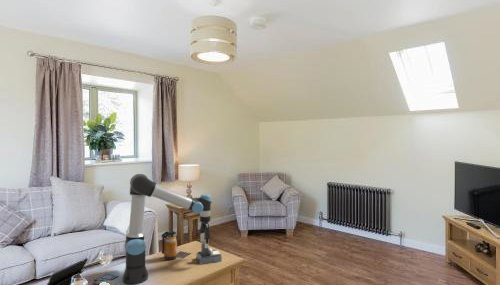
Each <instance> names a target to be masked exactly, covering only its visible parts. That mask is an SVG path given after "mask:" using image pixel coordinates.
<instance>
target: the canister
mask: <svg viewBox="0 0 500 285" xmlns="http://www.w3.org/2000/svg"><path fill="white" fill-rule="evenodd" d="M176 234H177V232H176V231H174V230H172V231H165V232H164V233H162V234H161V238H162V239H161V240H162V241H161V243H162V250H161V254H162V255H164V256H163V258H164V260H169V261H172V260H174V259H176V258H177V257H178V256H177V254H178V251H177V250H178V249H177V248H178V240H177V237H176Z"/></svg>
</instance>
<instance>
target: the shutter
mask: <svg viewBox="0 0 500 285" xmlns="http://www.w3.org/2000/svg"><path fill="white" fill-rule="evenodd" d="M213 250H214V249H212V248H211V247H209V254H210V255H211V256H212V255H219V254H221V252H219V250H218V249H216V250H217V251H213Z"/></svg>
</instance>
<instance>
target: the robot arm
mask: <svg viewBox="0 0 500 285" xmlns="http://www.w3.org/2000/svg"><path fill="white" fill-rule="evenodd" d="M129 184H130V186H129V195H130V196H131V203H130V214H129V215H130V216H129V226H128V232H127V233H126V235H125V243H124V248H125V269H124V271H123V272H124V273H123V275H122V282H123V283H124V284H125V285H138V284H141V283H144V282H146V281H147V280H148V278H149V273H148V270H147V266H146V249H147V246H146V241H145V233H144V232H143V230H144V229H143V228H144V220H145V219H144V217H145V206H146V204H145V203H146V197H148V198H151V197H153V198H156V199H159V200H161V201H164V202H167V203H169V204H172V205H175V206H178V207H180V208H183V209H186V210H188V211H191V212H192V213H195V214H199V221H200V229H199V232H200V243H204V240H205V248H210V247H209V245H210V244H209V243H210V242H209V241H210V239H211V237H210V236H211V235H210V225H209V222H210V221H211V213H212V210H211V205H212V197H211V194H207V193H204V194H201V195H200V197H188V196H185V195H183V194H182V193H181V194H180V193H177V192H175V191H173V190H170V189H168V188H165V187H163V186H160V185H158V184H157V182H154V181H152V180H151V179H149V178H148V176H147V175H145V174H143V173H138V174H134V175H133V176H132V177H131V178H130V181H129Z"/></svg>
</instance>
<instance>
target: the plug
mask: <svg viewBox="0 0 500 285" xmlns="http://www.w3.org/2000/svg"><path fill="white" fill-rule="evenodd" d="M200 248H201V249H200V252H201V257H204V256H209V248H210V247H209V248H205V239H204V242H201V247H200Z"/></svg>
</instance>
